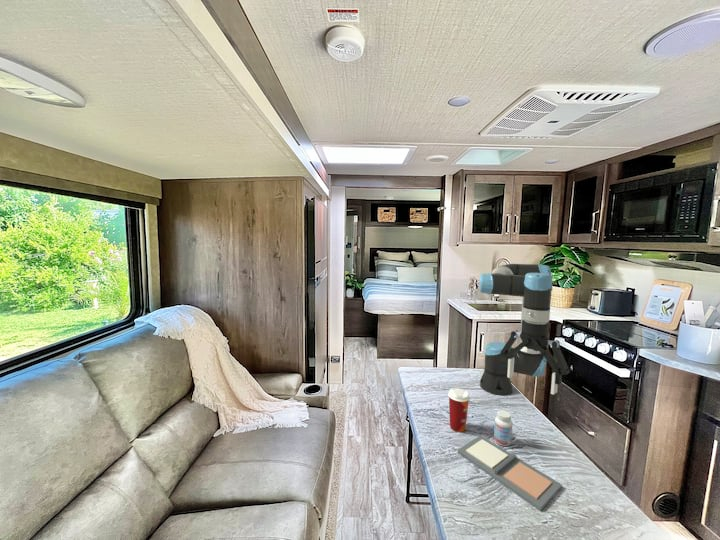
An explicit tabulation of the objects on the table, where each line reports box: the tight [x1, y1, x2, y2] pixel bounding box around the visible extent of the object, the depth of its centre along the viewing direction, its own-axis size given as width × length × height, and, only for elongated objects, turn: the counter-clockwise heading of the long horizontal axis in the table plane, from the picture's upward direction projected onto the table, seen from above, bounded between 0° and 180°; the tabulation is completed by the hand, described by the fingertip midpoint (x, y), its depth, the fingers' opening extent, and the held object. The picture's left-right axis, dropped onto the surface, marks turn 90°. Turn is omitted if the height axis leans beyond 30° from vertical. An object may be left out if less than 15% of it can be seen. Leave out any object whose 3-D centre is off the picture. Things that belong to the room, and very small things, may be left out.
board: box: [457, 435, 563, 512], centre depth 100 cm, size 14×28×2 cm, turn 35°
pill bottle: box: [493, 409, 513, 447], centre depth 112 cm, size 6×6×11 cm
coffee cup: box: [447, 387, 471, 433], centre depth 120 cm, size 8×8×15 cm
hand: (530, 384), depth 98 cm, fingers open, 13 cm apart
